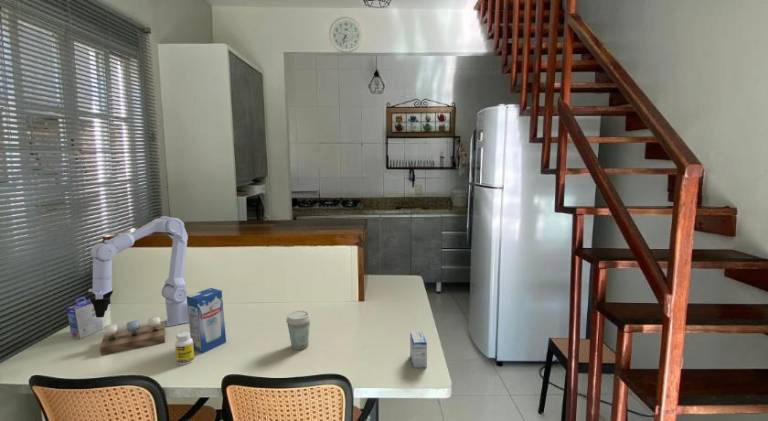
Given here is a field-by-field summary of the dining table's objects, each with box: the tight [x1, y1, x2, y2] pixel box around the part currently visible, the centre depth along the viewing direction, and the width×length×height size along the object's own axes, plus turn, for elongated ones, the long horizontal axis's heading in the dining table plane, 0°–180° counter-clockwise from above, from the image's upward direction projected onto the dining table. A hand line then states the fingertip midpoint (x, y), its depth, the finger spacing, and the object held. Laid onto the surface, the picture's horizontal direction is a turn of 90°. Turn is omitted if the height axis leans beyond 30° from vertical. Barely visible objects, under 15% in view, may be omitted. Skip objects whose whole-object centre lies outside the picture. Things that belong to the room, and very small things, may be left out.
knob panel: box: [99, 322, 166, 357], centre depth 157 cm, size 20×12×3 cm, turn 117°
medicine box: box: [409, 331, 428, 368], centre depth 138 cm, size 8×4×9 cm, turn 5°
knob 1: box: [103, 324, 119, 339], centre depth 153 cm, size 4×4×4 cm
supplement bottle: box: [174, 331, 195, 366], centre depth 142 cm, size 5×5×10 cm
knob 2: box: [147, 316, 162, 331], centre depth 159 cm, size 4×4×4 cm
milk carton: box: [186, 287, 227, 354], centre depth 151 cm, size 10×6×20 cm, turn 148°
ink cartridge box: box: [65, 296, 104, 340], centre depth 165 cm, size 10×6×14 cm, turn 161°
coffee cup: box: [286, 310, 312, 351], centre depth 150 cm, size 8×8×12 cm
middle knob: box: [126, 320, 141, 335], centre depth 156 cm, size 4×4×4 cm
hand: (101, 313), depth 152 cm, fingers open, 7 cm apart
